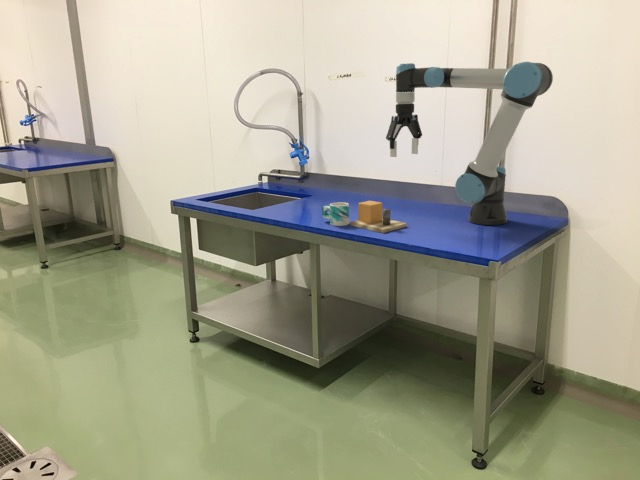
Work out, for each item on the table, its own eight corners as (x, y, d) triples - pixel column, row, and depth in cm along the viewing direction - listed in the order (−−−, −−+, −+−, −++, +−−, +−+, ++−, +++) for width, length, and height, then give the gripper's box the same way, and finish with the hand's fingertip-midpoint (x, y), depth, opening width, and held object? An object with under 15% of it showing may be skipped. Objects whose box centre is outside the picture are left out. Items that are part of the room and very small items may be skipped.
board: (406, 226, 215) (406, 208, 213) (382, 233, 207) (383, 214, 205) (374, 219, 228) (374, 202, 226) (350, 225, 220) (350, 207, 218)
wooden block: (369, 218, 225) (369, 200, 223) (382, 220, 220) (382, 202, 218) (358, 220, 221) (358, 203, 219) (370, 223, 216) (370, 205, 214)
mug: (341, 226, 218) (341, 206, 216) (318, 223, 225) (317, 203, 223) (352, 222, 224) (352, 203, 222) (329, 219, 232) (329, 200, 229)
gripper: (417, 102, 229) (416, 152, 235) (377, 104, 214) (377, 157, 219) (431, 102, 224) (429, 153, 230) (391, 104, 208) (391, 158, 214)
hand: (404, 155), depth 224 cm, fingers open, 13 cm apart
